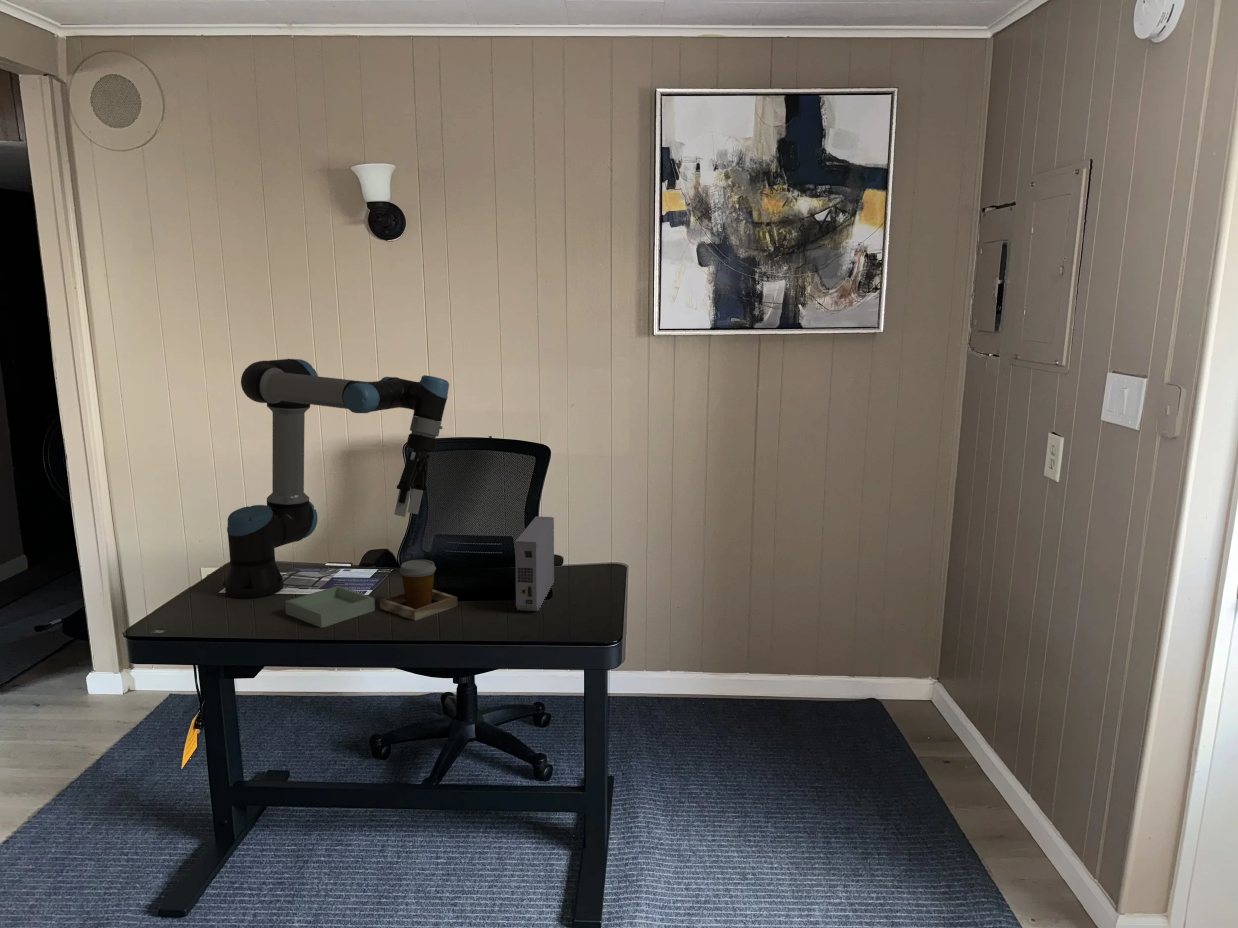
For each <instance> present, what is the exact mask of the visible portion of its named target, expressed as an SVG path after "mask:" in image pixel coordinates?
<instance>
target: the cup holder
mask: <svg viewBox="0 0 1238 928" xmlns="http://www.w3.org/2000/svg"><path fill="white" fill-rule="evenodd" d="M432 601H434V602H433V603H431V604H430V605H427V606H424V607H421V608H418V609H413V608H410V607H407V605H404V604H405V603H406V598H405V593H404V591H403V592H400V593H397V594H393V595H390V596H387V597H384V598H381V599H379V609H380V610H384V611H386V612H388V611H389V613H391V612H392V614H394V615H397V614H398V615H397V616H400V617H404V618H406V619H409V620H412V621H413V622H416V621H418V620H422V619H424V618H428V617H429V616H432V615H436V614H439V613H441V612H444V611H447V610H450V609H452V608H455V607H458V596H454V595H452V594H450V593H449V594H448V593H446V592H442V591H439V590H436V589H433V591H432Z"/></svg>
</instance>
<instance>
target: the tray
mask: <svg viewBox="0 0 1238 928" xmlns="http://www.w3.org/2000/svg"><path fill="white" fill-rule="evenodd" d="M375 602H376V600H375V597H372V596H369V595H367V594H364V593H361V592H358V591H355V590H353V589H349V588H346V587H343V586H341V585H336V586H332V587H329V588H326V589H325V588H324V589H323V590H318V591H315V592H312V593H308V594H305V595H301V596H298V597H295V598H291V599H288V600H287V599H286V600H285V601H284V603H285V614H286V615H289V616H291V617H293V618H296V619H298V620H301V621H303V622H306V623H309V624H311V625H313V626H316V627H318V628H321V629H323V628H326V627H329V626H332V625H335V624H338V623H341V622H344V621H348V620H350V619H353V618H356V617H359V616H360V617H361V616H363V615H366V614H368V613H372V612H375V611H376V605H375V604H376V603H375ZM322 627H323V628H322Z"/></svg>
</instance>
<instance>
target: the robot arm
mask: <svg viewBox="0 0 1238 928" xmlns="http://www.w3.org/2000/svg"><path fill="white" fill-rule="evenodd" d="M240 386H241V389H242V391H243V393H244V395H245V396H246V397H247V398H248V399H250V400H251V401H253V402H255V403H259V404H266V407H267V408H268V409H269V410H270V411H271V412H272V460H271V461H272V467H271V468H272V470H271V471H272V475H271V476H272V479H271V480H272V485H271V486H272V491H271V493H270V495H268V496H267V497H266V505H265V504H253V505H251V506H249V505H248V506H244V507H241V508H238V509H236V510H234V511H232V512H231V513H230V514H228V517H227V526H226V532H227V539H228V540H227V542H228V549H229V550H228V551H229V565H230V566H229V570H228V574H227V576H226V580H225V585H224V589H225V595H226V596H228V597H230V598H233V599H234V598H235V599H256V598H261V597H266V596H270V595H275V594H276V593H279V592H280V591H282V590H283V589H284V578H283V576H282V574H281V572H280V570H279V567H278V565H277V563H276V555H275V554H276V552H275V551H276V550H275V549H276V548H279V547H282V546H285V545H288V544H292V543H296V542H300V541H302V540H303V539H306V538H307V537H309V536H311V535H312V534H313V533H314V531H315V530H316V527H317V525H318V512H317V509H315V506H314V504H313V503H312V502H311V501H310V497H309V496H308V495H307V494H306V493H305V491H304V490H305V417H306V416H305V413H306V412H307V411H308V410H309V409H310V408H311V405H314V406H319V407H320V406H321V407H329V408H337V409H344V410H345V409H346V410H349V411H350V412H351V413H354V414H369V413H371V412H378V411H384V410H385V411H386V410H391V409H392V410H393V409H399V408H400V409H401V408H402V409H406V410H407V409H408V410H413V415H412V418H411V422H410V423H411V424H410V427H409V431H410V432H411V433H409V434H408V437H407V441H406V447H407V448H410V449H413V450H412V451H408V453H407V454H408V455H407V458H406V459H407V460H406V462H405V465H404V467H403V470H402V473H401V476H400V479H399V482H398V484H396V489H397V490H399V491H398V494H397V495H398V496H397V499H396V505H395V509H394V516H399V517H404V518H406V515H407V513H409V514H414V515H418V514H419V512H420V511H419V510H420V506H421V502H422V501H421V500H422V497H423V493H424V492H426V491H427V490H428V489H427V488H428V487H427V481H428V480H427V477H428V468H429V461H430V456H431V455H430V454H428V452H429V453H435V452H436V450H437V445H438V439H437V437H439V435H440V430H443V425H442V421H443V415H444V411H445V408H446V403H447V400H448V398H449V397H448V394H449V389H450V383H449V381H448V380H447V379H443V378H440V377H437V376H432V375H425V374H424V375H422V376H421V378H420V380H419V381H415V380H414V381H413V380H408V379H404V378H400V377H396V376H393V377H392V376H384V377H382V378H381V379H380V380H375V381H365V380H364V381H360V380H353V379H352V380H351V379H345V378H335V377H327V376H326V377H325V376H319V375H318V373H317V371H316V369H315V368H313V366H312V365H311V364H310V363H309V362H308V361H306V360H304V359H299V358H283V359H282V358H281V359H270V360H259V361H255V362H253V363H251V364H249V365H248V366H247V367H245V369H244V371H243V372H242V374H241V377H240ZM412 486H413V488H412Z"/></svg>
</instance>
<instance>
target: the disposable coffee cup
mask: <svg viewBox="0 0 1238 928" xmlns="http://www.w3.org/2000/svg"><path fill="white" fill-rule="evenodd" d="M398 570H399V572H400V575H401V579H402V585H403V592H404V593H405V598H406V602H405V603H406V606H407V607H410V608H413V609H418V608H421V607H424V606H427V605H430V604H432V601H433V600H432V591H433V590H434V580H435V579H434V578H435V572H436V570H437V567H436V566H435V563H434V561H432V560H428V559H411V560H408V561H405V562H403V563H401V565H400V568H399V569H398Z"/></svg>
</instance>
